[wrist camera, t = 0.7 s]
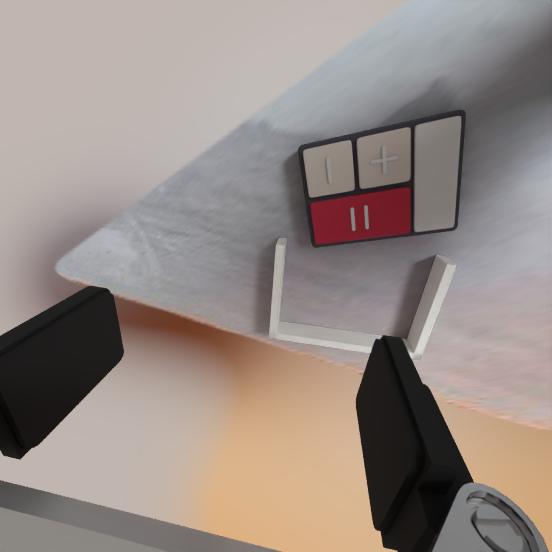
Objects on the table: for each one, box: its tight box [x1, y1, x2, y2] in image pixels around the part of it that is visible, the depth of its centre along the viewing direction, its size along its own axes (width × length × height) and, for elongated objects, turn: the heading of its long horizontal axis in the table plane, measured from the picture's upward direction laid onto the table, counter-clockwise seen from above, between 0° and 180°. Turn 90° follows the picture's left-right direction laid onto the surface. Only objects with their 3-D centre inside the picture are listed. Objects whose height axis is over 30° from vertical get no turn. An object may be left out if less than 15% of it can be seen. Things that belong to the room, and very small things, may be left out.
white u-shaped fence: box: [269, 237, 457, 361], centre depth 34 cm, size 20×14×3 cm
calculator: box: [298, 110, 466, 247], centre depth 28 cm, size 11×4×15 cm
